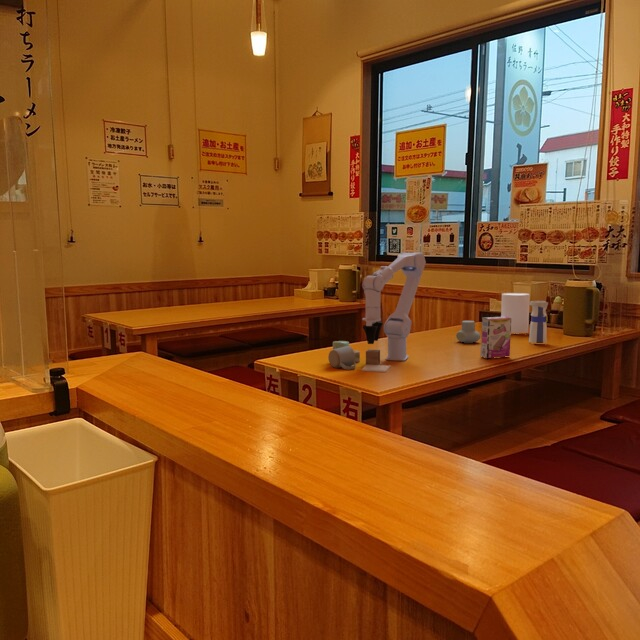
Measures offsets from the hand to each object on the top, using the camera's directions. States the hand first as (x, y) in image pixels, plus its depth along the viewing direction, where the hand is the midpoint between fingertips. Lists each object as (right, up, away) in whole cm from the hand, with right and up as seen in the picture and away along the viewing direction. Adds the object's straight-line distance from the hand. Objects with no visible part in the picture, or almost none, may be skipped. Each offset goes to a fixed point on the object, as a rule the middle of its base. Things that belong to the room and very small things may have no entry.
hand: (372, 342), depth 229 cm
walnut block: (0, -9, +1) cm, 9 cm away
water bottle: (+80, -2, +45) cm, 92 cm away
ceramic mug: (-11, -10, -4) cm, 15 cm away
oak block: (-7, -8, +8) cm, 13 cm away
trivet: (+1, -10, -7) cm, 12 cm away
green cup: (-12, -8, +6) cm, 16 cm away
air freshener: (+49, -2, +49) cm, 70 cm away
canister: (+80, +2, +77) cm, 111 cm away
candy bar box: (+51, -7, +12) cm, 53 cm away
